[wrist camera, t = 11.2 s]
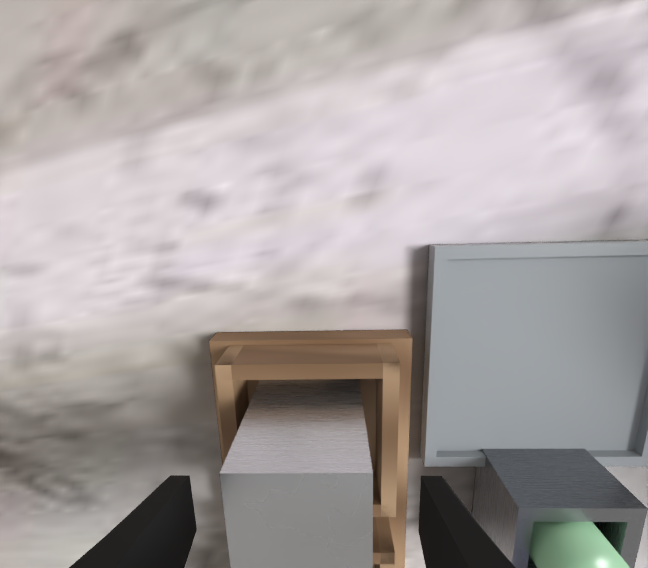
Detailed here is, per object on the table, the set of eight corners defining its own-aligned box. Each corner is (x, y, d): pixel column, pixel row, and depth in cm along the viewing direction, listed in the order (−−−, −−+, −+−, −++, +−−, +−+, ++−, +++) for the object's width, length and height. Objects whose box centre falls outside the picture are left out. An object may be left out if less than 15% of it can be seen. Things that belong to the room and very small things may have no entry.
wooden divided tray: (398, 602, 18) (410, 673, 15) (244, 600, 18) (228, 669, 15) (407, 329, 14) (424, 357, 12) (217, 332, 15) (190, 360, 12)
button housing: (564, 522, 16) (625, 604, 13) (471, 522, 17) (506, 603, 13) (578, 442, 15) (647, 508, 12) (478, 442, 16) (518, 508, 12)
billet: (358, 453, 15) (372, 592, 9) (269, 454, 15) (233, 591, 10) (357, 371, 14) (372, 473, 9) (263, 372, 14) (219, 473, 9)
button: (554, 515, 16) (625, 614, 12) (494, 514, 16) (546, 613, 12) (561, 465, 15) (639, 552, 11) (500, 465, 15) (556, 552, 12)
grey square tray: (635, 453, 16) (651, 466, 15) (420, 453, 16) (424, 466, 15) (680, 238, 13) (701, 240, 13) (429, 244, 14) (435, 246, 13)
